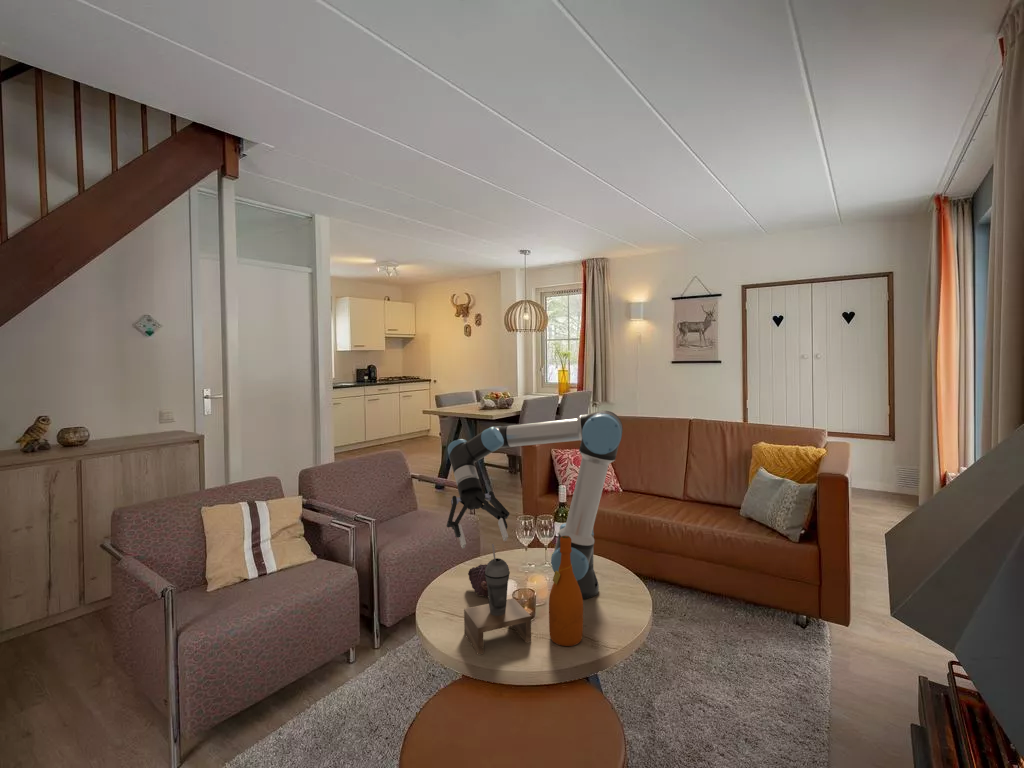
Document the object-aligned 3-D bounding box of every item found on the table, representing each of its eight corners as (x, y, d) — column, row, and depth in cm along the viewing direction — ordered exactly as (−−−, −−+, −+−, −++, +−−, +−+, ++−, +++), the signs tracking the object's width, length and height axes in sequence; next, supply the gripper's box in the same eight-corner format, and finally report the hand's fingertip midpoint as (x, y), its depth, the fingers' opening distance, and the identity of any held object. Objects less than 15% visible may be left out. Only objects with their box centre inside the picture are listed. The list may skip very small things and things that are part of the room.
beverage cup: (507, 619, 144) (506, 549, 143) (482, 617, 145) (481, 548, 144) (512, 607, 151) (511, 540, 150) (488, 604, 153) (487, 539, 152)
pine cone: (459, 588, 180) (459, 561, 180) (483, 581, 186) (482, 554, 186) (487, 607, 166) (487, 577, 166) (512, 599, 172) (511, 570, 172)
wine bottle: (554, 627, 154) (553, 529, 152) (586, 633, 150) (586, 532, 149) (544, 644, 145) (543, 540, 143) (578, 651, 141) (578, 544, 140)
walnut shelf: (514, 622, 157) (513, 598, 157) (531, 641, 146) (530, 615, 146) (464, 633, 151) (464, 608, 150) (478, 655, 140) (478, 628, 139)
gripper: (500, 484, 175) (519, 542, 162) (428, 493, 164) (443, 555, 152) (506, 472, 170) (526, 530, 157) (432, 480, 159) (448, 543, 147)
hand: (485, 542), depth 154 cm, fingers open, 13 cm apart
